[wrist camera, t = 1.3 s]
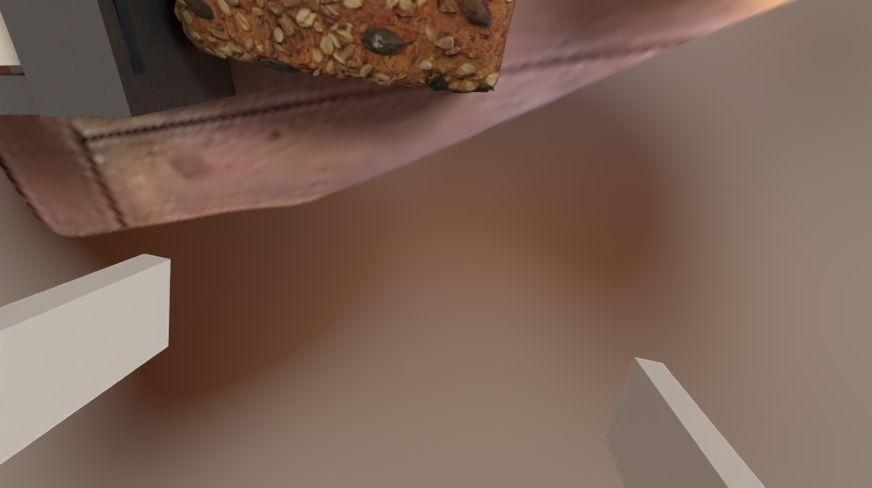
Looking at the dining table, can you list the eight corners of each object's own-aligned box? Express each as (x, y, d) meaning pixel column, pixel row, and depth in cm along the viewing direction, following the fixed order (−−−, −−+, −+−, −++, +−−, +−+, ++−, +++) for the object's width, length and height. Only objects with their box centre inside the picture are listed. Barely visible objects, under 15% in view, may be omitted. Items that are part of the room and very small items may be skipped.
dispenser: (58, -68, 29) (-163, -130, 19) (202, -72, 28) (55, -138, 18) (109, 95, 33) (-48, 117, 23) (234, 95, 33) (131, 117, 22)
